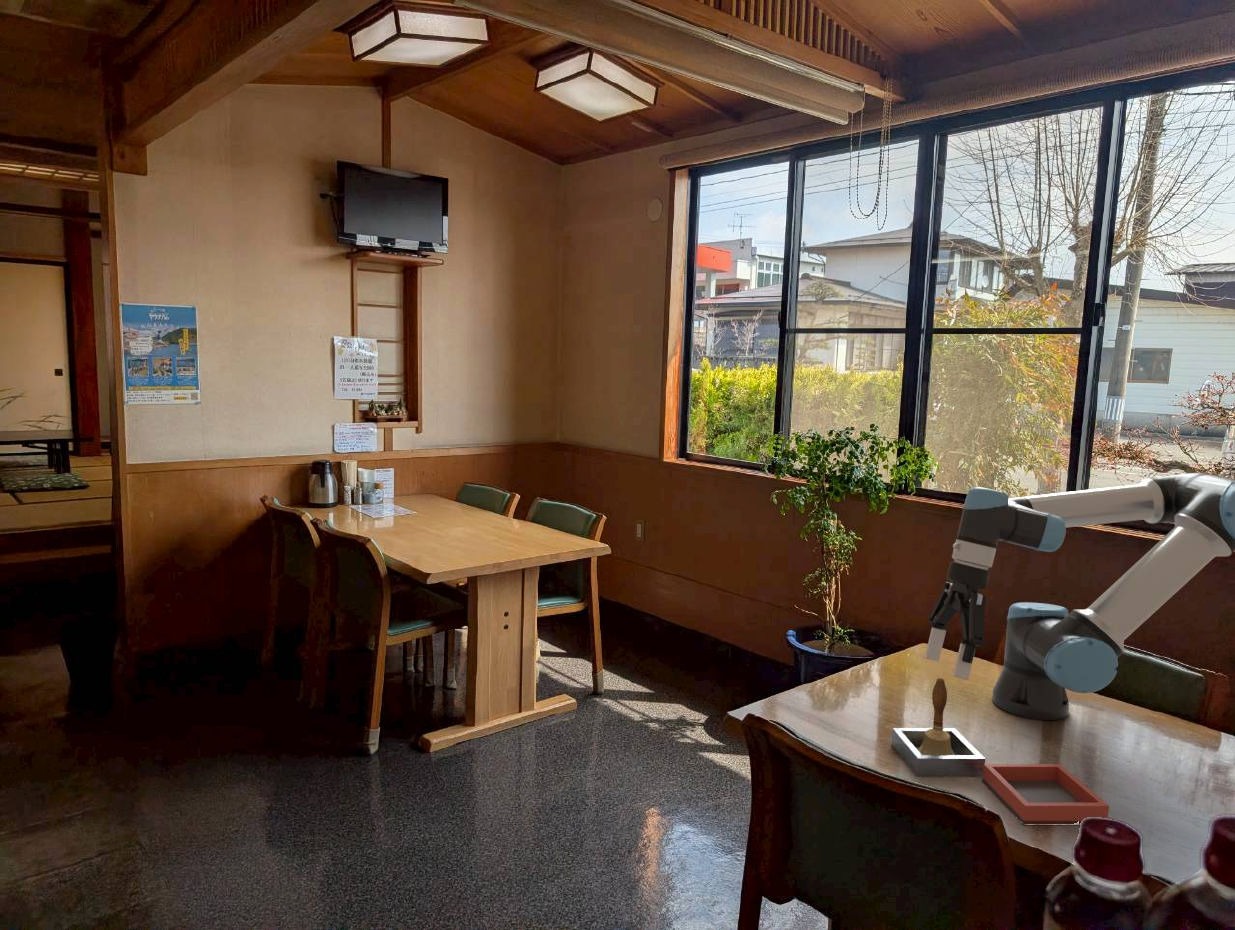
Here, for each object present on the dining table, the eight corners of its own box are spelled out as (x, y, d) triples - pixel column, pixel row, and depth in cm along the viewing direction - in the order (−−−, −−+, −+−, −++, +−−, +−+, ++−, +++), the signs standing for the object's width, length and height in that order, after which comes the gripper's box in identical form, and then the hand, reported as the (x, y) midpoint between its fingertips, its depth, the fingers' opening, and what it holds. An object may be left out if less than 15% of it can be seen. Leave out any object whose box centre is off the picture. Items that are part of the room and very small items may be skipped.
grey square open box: (953, 745, 162) (954, 728, 162) (983, 776, 150) (985, 758, 149) (891, 745, 162) (892, 728, 161) (917, 776, 149) (918, 758, 149)
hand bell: (917, 768, 152) (923, 686, 150) (908, 748, 160) (914, 669, 158) (964, 773, 151) (971, 690, 149) (953, 752, 159) (959, 673, 157)
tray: (1058, 781, 149) (1059, 764, 148) (1107, 825, 135) (1109, 805, 134) (982, 781, 148) (983, 763, 148) (1023, 825, 134) (1025, 805, 134)
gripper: (927, 552, 176) (904, 648, 176) (981, 569, 151) (954, 682, 151) (961, 560, 176) (937, 656, 176) (1020, 579, 151) (993, 691, 151)
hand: (945, 668), depth 164 cm, fingers open, 13 cm apart
